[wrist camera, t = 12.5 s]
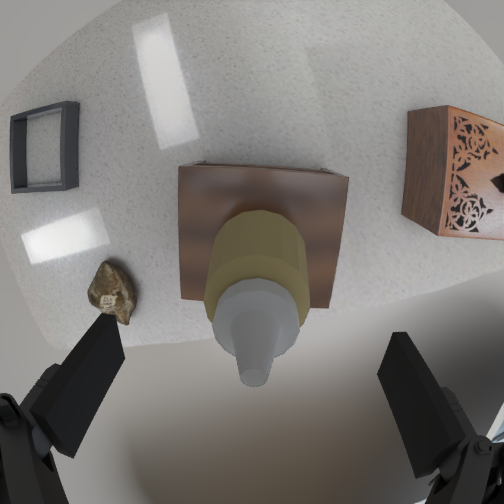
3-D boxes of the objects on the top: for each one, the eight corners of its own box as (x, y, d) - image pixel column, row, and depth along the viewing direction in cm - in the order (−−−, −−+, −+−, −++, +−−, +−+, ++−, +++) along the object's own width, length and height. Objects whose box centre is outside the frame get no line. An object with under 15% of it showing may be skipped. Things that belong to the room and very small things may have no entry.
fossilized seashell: (139, 331, 42) (147, 270, 40) (105, 340, 36) (109, 274, 35) (113, 310, 46) (119, 254, 44) (80, 316, 40) (84, 255, 38)
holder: (24, 116, 33) (10, 116, 30) (79, 102, 33) (66, 100, 29) (24, 189, 37) (11, 193, 34) (78, 186, 37) (65, 190, 34)
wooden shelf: (200, 160, 36) (178, 166, 26) (327, 168, 35) (349, 177, 26) (199, 263, 41) (181, 299, 31) (314, 271, 40) (329, 308, 31)
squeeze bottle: (218, 198, 27) (150, 287, 10) (305, 204, 27) (368, 301, 10) (217, 277, 30) (172, 421, 13) (296, 283, 30) (325, 430, 13)
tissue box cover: (401, 214, 37) (437, 236, 28) (407, 111, 32) (447, 105, 23) (513, 225, 36) (549, 244, 27) (521, 146, 31) (560, 153, 22)
